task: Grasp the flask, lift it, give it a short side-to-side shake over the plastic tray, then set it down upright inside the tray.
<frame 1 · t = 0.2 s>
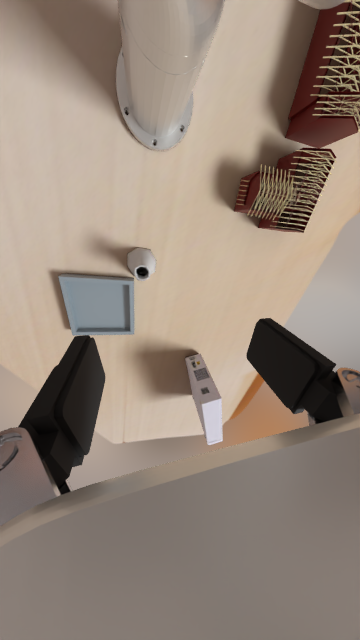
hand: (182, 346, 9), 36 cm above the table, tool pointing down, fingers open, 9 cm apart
tray: (103, 305, 43), on the table
game console: (194, 374, 67), on the table
toy houses: (300, 95, 31), on the table
flask: (141, 262, 40), on the table
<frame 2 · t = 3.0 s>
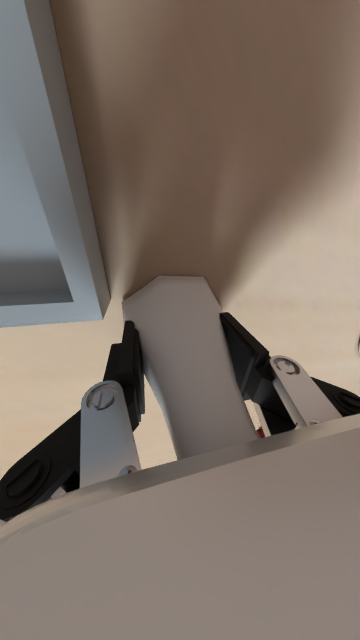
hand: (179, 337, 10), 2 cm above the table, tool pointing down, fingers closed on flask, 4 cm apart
flask: (173, 320, 12), on the table, touching gripper
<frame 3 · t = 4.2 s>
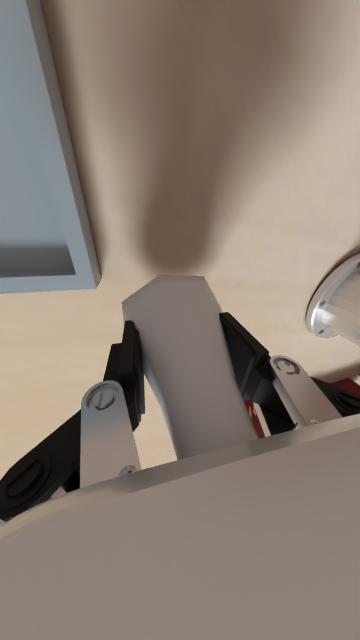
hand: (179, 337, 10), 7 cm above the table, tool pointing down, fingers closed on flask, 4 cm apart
toy houses: (304, 394, 37), on the table
flask: (173, 320, 12), point 5 cm above the table, touching gripper
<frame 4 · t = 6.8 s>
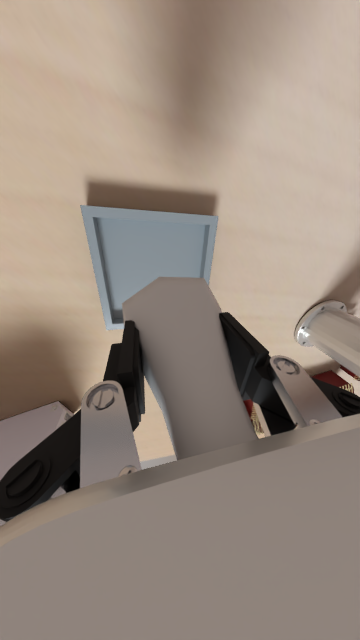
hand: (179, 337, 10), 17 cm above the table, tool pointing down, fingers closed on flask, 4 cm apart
tray: (155, 274, 25), on the table
game console: (13, 424, 34), on the table
toy houses: (297, 381, 52), on the table
flask: (173, 321, 12), point 15 cm above the table, touching gripper
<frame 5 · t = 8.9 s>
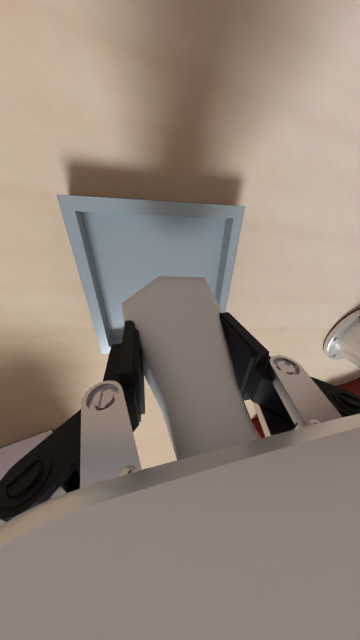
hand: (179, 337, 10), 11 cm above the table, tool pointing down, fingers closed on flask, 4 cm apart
tray: (161, 283, 20), on the table
game console: (1, 455, 30), on the table
toy houses: (322, 392, 46), on the table
flask: (173, 321, 12), point 9 cm above the table, touching gripper
when the fingers open (4 cm above the table, at t = 10.6 s): flask drops 1 cm, resting on tray.
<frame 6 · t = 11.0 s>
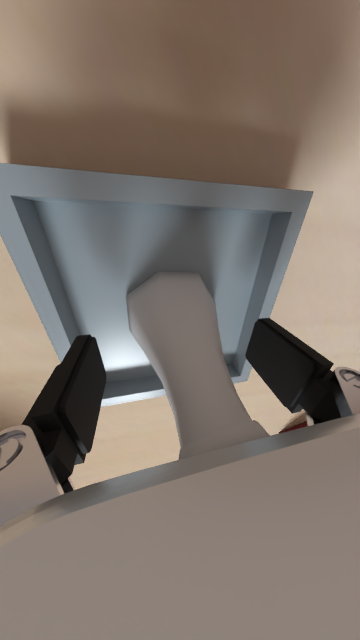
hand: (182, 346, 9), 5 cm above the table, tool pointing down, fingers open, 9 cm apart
tray: (168, 308, 14), on the table
flask: (171, 312, 13), point 1 cm above the table, touching tray
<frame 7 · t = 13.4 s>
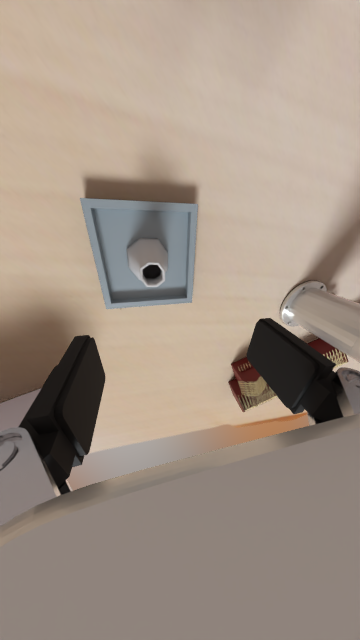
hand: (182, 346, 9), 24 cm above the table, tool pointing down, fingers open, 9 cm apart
tray: (147, 258, 28), on the table
game console: (27, 401, 39), on the table
toy houses: (289, 353, 53), on the table
flask: (148, 259, 28), point 1 cm above the table, touching tray
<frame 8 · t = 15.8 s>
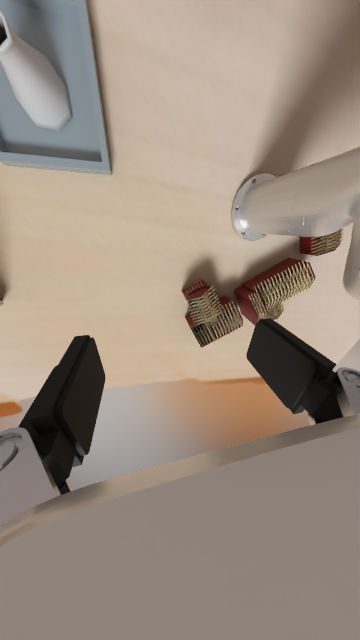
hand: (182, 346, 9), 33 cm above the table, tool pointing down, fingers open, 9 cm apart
tray: (44, 98, 24), on the table
toy houses: (252, 281, 47), on the table
flask: (43, 96, 23), point 1 cm above the table, touching tray
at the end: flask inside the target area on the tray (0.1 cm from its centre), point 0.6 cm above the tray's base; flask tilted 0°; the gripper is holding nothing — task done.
